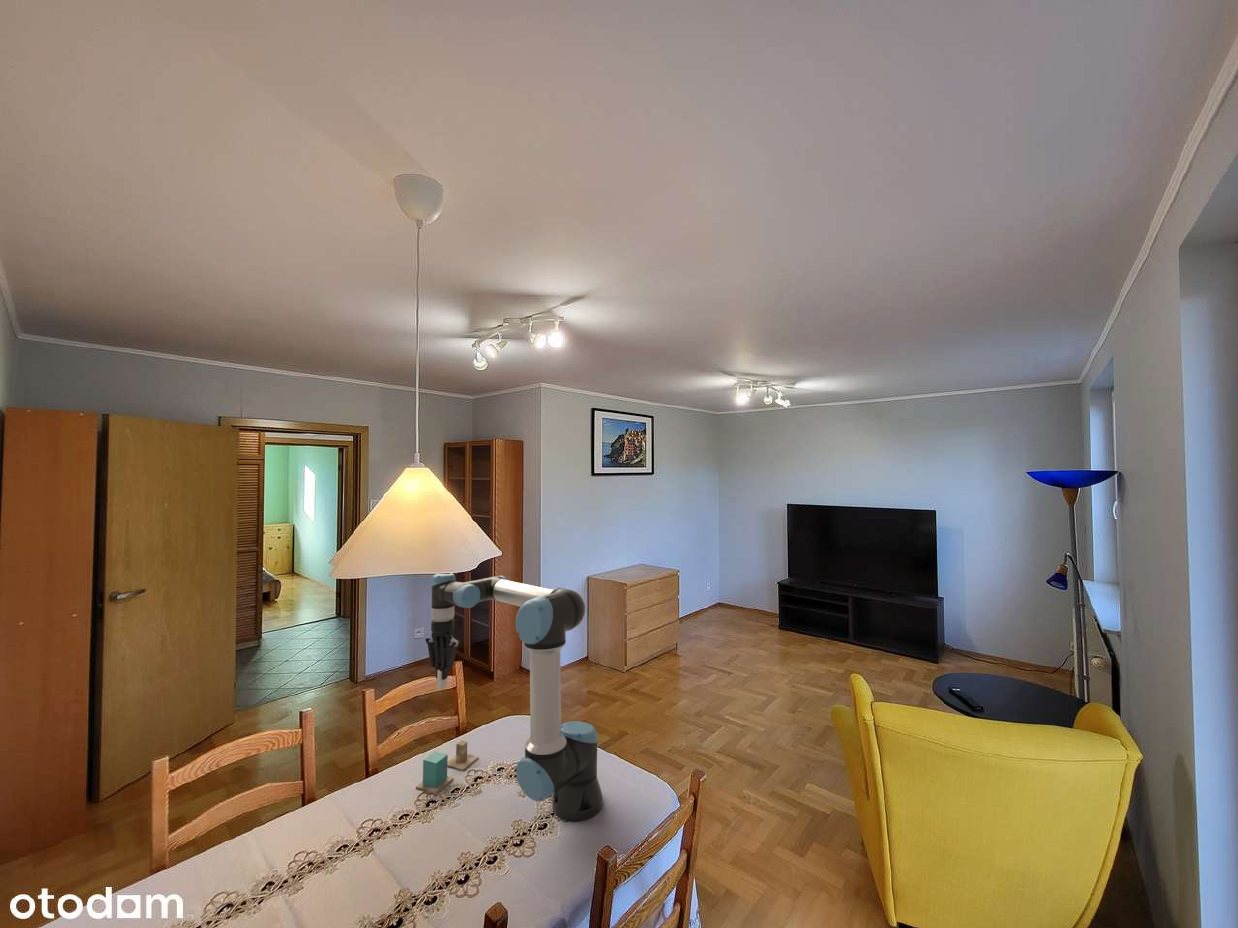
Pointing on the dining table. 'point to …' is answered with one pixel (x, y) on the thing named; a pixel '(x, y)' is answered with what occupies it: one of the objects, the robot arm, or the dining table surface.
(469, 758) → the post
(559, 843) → the dining table surface
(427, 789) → the post
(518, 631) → the robot arm
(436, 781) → the teal rectangular block
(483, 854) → the dining table surface
